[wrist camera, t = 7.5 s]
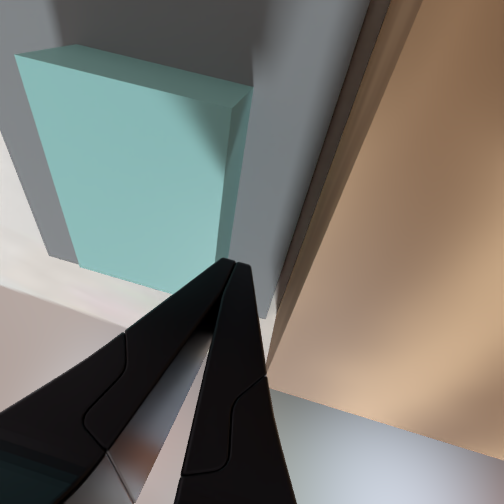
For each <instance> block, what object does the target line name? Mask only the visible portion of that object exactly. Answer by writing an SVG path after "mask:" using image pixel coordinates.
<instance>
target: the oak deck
mask: <svg viewBox="0 0 504 504" xmlns="http://www.w3.org/2000/svg"><path fill="white" fill-rule="evenodd" d="M266 371H267V375H266V376H267V377H268V383H269V388H271V389H274V390H278V391H281V392H284V393H287V394H291V395H294V396H297V397H300V398H303V399H306V400H310V401H313V402H317V403H320V404H323V405H326V406H329V407H332V408H336V409H339V410H342V411H345V412H349V413H352V414H355V415H358V416H362V417H365V418H368V419H371V420H375V421H378V422H381V423H385V424H388V425H391V426H394V427H397V428H400V429H404V430H407V431H410V432H413V433H417V434H420V435H423V436H426V437H430V438H433V439H436V440H440V441H443V442H446V443H449V444H452V445H455V446H459V447H462V448H465V449H468V450H472V451H475V452H478V453H481V454H484V455H488V456H491V457H494V458H498V459H501V460H504V0H391V2H390V5H389V7H388V10H387V13H386V16H385V18H384V21H383V24H382V27H381V29H380V32H379V35H378V37H377V40H376V43H375V46H374V48H373V51H372V54H371V57H370V59H369V62H368V65H367V68H366V70H365V73H364V76H363V79H362V81H361V84H360V87H359V90H358V92H357V95H356V98H355V101H354V103H353V106H352V109H351V112H350V114H349V117H348V120H347V123H346V125H345V128H344V131H343V134H342V136H341V139H340V142H339V145H338V147H337V150H336V153H335V155H334V158H333V161H332V164H331V166H330V169H329V172H328V175H327V177H326V180H325V183H324V186H323V188H322V191H321V194H320V197H319V199H318V202H317V205H316V208H315V210H314V213H313V216H312V219H311V221H310V224H309V227H308V230H307V232H306V235H305V238H304V241H303V243H302V246H301V249H300V252H299V254H298V257H297V260H296V263H295V265H294V268H293V271H292V273H291V276H290V279H289V282H288V284H287V287H286V290H285V293H284V295H283V298H282V301H281V304H280V306H279V309H278V312H277V315H276V319H275V324H274V329H273V333H272V338H271V343H270V348H269V352H268V357H267V362H266Z"/></svg>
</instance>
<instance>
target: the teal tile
mask: <svg viewBox="0 0 504 504" xmlns="http://www.w3.org/2000/svg"><path fill="white" fill-rule="evenodd" d="M14 56H15V59H16V62H17V66H18V69H19V72H20V75H21V78H22V82H23V85H24V88H25V91H26V95H27V98H28V101H29V104H30V108H31V111H32V114H33V117H34V120H35V124H36V127H37V130H38V133H39V137H40V140H41V143H42V146H43V150H44V153H45V156H46V159H47V163H48V166H49V169H50V172H51V175H52V179H53V182H54V185H55V188H56V192H57V195H58V198H59V201H60V205H61V208H62V211H63V214H64V217H65V221H66V224H67V227H68V230H69V234H70V237H71V240H72V243H73V247H74V250H75V253H76V256H77V259H78V263H79V266H80V267H82V268H85V269H88V270H92V271H95V272H99V273H102V274H105V275H109V276H112V277H116V278H119V279H122V280H126V281H129V282H133V283H136V284H140V285H143V286H146V287H150V288H153V289H157V290H160V291H163V292H167V293H170V294H174V293H175V292H177V291H178V290H179V289H181V288H182V287H183V286H185V285H186V284H187V283H189V282H190V281H191V280H193V279H194V278H195V277H196V276H198V275H199V274H200V273H202V272H203V271H204V270H206V269H207V268H208V267H210V266H211V265H212V264H214V263H215V262H216V261H218V260H219V259H220V258H223V257H224V258H228V255H229V248H230V242H231V235H232V228H233V222H234V215H235V208H236V202H237V195H238V188H239V182H240V175H241V168H242V162H243V155H244V148H245V142H246V135H247V128H248V122H249V115H250V108H251V102H252V95H253V88H254V87H251V86H247V85H243V84H239V83H235V82H231V81H227V80H223V79H218V78H214V77H210V76H206V75H202V74H198V73H194V72H190V71H185V70H181V69H177V68H173V67H169V66H165V65H161V64H157V63H152V62H148V61H144V60H140V59H136V58H132V57H128V56H123V55H119V54H115V53H111V52H107V51H103V50H99V49H95V48H90V47H86V46H82V45H78V44H74V45H68V46H62V47H56V48H50V49H44V50H38V51H32V52H26V53H20V54H14Z"/></svg>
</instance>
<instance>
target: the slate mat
mask: <svg viewBox="0 0 504 504" xmlns="http://www.w3.org/2000/svg"><path fill="white" fill-rule="evenodd" d="M369 3H370V0H0V131H1V133H2V136H3V139H4V141H5V144H6V146H7V149H8V151H9V154H10V157H11V159H12V162H13V164H14V167H15V169H16V172H17V175H18V177H19V180H20V182H21V185H22V187H23V190H24V193H25V195H26V198H27V200H28V203H29V205H30V208H31V211H32V213H33V216H34V218H35V221H36V223H37V226H38V229H39V231H40V234H41V236H42V239H43V242H44V244H45V247H46V249H47V252H48V254H49V256H52V257H55V258H59V259H62V260H65V261H69V262H72V263H76V264H79V263H78V259H77V256H76V253H75V250H74V247H73V243H72V240H71V237H70V234H69V230H68V227H67V224H66V221H65V217H64V214H63V211H62V208H61V205H60V201H59V198H58V195H57V192H56V188H55V185H54V182H53V179H52V175H51V172H50V169H49V166H48V163H47V159H46V156H45V153H44V150H43V146H42V143H41V140H40V137H39V133H38V130H37V127H36V124H35V120H34V117H33V114H32V111H31V108H30V104H29V101H28V98H27V95H26V91H25V88H24V85H23V82H22V78H21V75H20V72H19V69H18V66H17V62H16V59H15V56H14V54H20V53H26V52H32V51H38V50H44V49H50V48H56V47H62V46H68V45H74V44H78V45H82V46H86V47H90V48H95V49H99V50H103V51H107V52H111V53H115V54H119V55H123V56H128V57H132V58H136V59H140V60H144V61H148V62H152V63H157V64H161V65H165V66H169V67H173V68H177V69H181V70H185V71H190V72H194V73H198V74H202V75H206V76H210V77H214V78H218V79H223V80H227V81H231V82H235V83H239V84H243V85H247V86H251V87H254V88H253V95H252V102H251V108H250V115H249V122H248V128H247V135H246V142H245V148H244V155H243V162H242V168H241V175H240V182H239V188H238V195H237V202H236V208H235V215H234V222H233V228H232V235H231V242H230V248H229V255H228V259H231V260H235V261H236V263H237V262H242V263H246V264H249V265H251V268H252V275H253V281H254V288H255V295H256V302H257V309H258V316H259V318H262V319H266V316H267V313H268V310H269V307H270V304H271V301H272V298H273V295H274V291H275V288H276V285H277V282H278V279H279V276H280V273H281V270H282V267H283V264H284V261H285V258H286V255H287V252H288V249H289V246H290V243H291V240H292V237H293V234H294V231H295V228H296V225H297V222H298V219H299V215H300V212H301V209H302V206H303V203H304V200H305V197H306V194H307V191H308V188H309V185H310V182H311V179H312V176H313V173H314V170H315V167H316V164H317V161H318V158H319V155H320V152H321V149H322V146H323V143H324V139H325V136H326V133H327V130H328V127H329V124H330V121H331V118H332V115H333V112H334V109H335V106H336V103H337V100H338V97H339V94H340V91H341V88H342V85H343V82H344V79H345V76H346V73H347V70H348V67H349V64H350V60H351V57H352V54H353V51H354V48H355V45H356V42H357V39H358V36H359V33H360V30H361V27H362V24H363V21H364V18H365V15H366V12H367V9H368V6H369Z"/></svg>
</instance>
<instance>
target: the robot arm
mask: <svg viewBox="0 0 504 504" xmlns="http://www.w3.org/2000/svg"><path fill="white" fill-rule="evenodd" d="M208 350H209V353H208V357H207V362H206V366H205V370H204V375H203V379H202V383H201V388H200V392H199V396H198V401H197V405H196V410H195V414H194V418H193V423H192V427H191V431H190V436H189V440H188V444H187V449H186V453H185V457H184V462H183V466H182V470H181V478H180V480H179V484H178V488H177V493H176V496H175V500H174V504H297V503H296V499H295V495H294V491H293V488H292V484H291V480H290V476H289V473H288V469H287V465H286V462H285V458H284V454H283V451H282V447H281V443H280V439H279V435H278V431H277V426H276V422H275V418H274V413H273V407H272V402H271V396H270V390H269V383H268V377H267V376H266V375H267V371H266V364H265V357H264V350H263V343H262V336H261V329H260V323H259V316H258V309H257V302H256V295H255V288H254V281H253V275H252V268H251V265H249V264H246V263H242V262H237V263H236V261H235V260H231V259H228V258H224V257H223V258H220V259H219V260H218V261H216V262H215V263H214V264H212V265H211V266H210V267H208V268H207V269H206V270H204V271H203V272H202V273H200V274H199V275H198V276H196V277H195V278H194V279H193V280H191V281H190V282H189V283H187V284H186V285H185V286H183V287H182V288H181V289H179V290H178V291H177V292H175V293H174V294H173V295H171V296H170V297H169V298H167V299H166V300H165V301H163V302H162V303H161V304H159V305H158V306H157V307H155V308H154V309H153V310H151V311H150V312H149V313H147V314H146V315H145V316H143V317H142V318H141V319H140V320H138V321H137V322H136V323H134V324H133V325H132V326H130V327H129V328H128V329H126V330H125V333H121V334H120V335H118V336H117V337H115V338H114V339H113V340H112V341H110V342H109V343H108V344H106V345H105V346H103V347H102V348H101V349H99V350H98V351H96V352H95V353H94V354H92V355H91V356H89V357H88V358H86V359H85V360H83V361H82V362H80V363H79V364H77V365H76V366H74V367H72V368H71V369H69V370H68V371H66V372H65V373H63V374H62V375H60V376H58V377H57V378H55V379H54V380H52V381H51V382H49V383H47V384H45V385H44V386H42V387H41V388H39V389H37V390H36V391H34V392H32V393H31V394H29V395H28V396H26V397H25V398H23V399H21V400H20V401H18V402H17V403H15V404H13V405H11V406H10V407H8V408H7V409H5V410H3V411H2V412H0V504H134V503H135V502H136V500H137V498H138V496H139V494H140V492H141V490H142V488H143V486H144V484H145V481H146V480H147V478H148V475H149V473H150V471H151V469H152V467H153V465H154V463H155V461H156V459H157V457H158V454H159V452H160V450H161V448H162V446H163V444H164V442H165V440H166V438H167V436H168V434H169V431H170V429H171V427H172V425H173V423H174V421H175V419H176V417H177V415H178V412H179V410H180V408H181V406H182V404H183V402H184V400H185V398H186V396H187V394H188V392H189V390H190V387H191V385H192V383H193V381H194V379H195V377H196V375H197V373H198V371H199V369H200V367H201V364H202V362H203V360H204V358H205V356H206V354H207V352H208Z"/></svg>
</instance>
